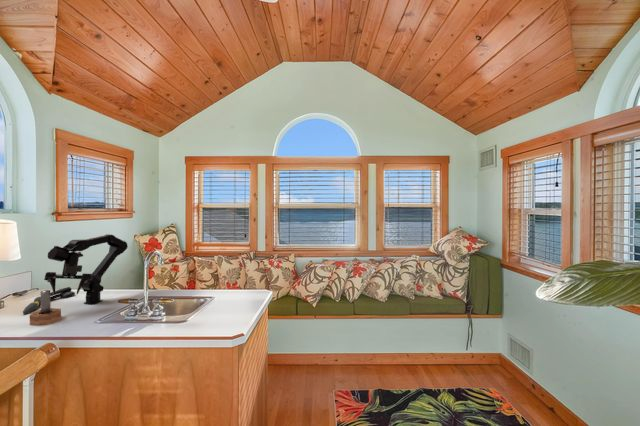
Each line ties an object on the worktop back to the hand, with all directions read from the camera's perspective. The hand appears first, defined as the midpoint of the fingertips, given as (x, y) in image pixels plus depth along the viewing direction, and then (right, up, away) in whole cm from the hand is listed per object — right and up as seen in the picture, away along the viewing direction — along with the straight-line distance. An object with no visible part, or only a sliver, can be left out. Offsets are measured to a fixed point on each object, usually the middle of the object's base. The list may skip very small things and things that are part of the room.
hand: (65, 294), depth 164 cm
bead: (-3, -10, -9) cm, 14 cm away
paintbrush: (-22, -10, +8) cm, 25 cm away
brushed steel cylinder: (-3, -10, -9) cm, 14 cm away
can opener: (-24, -9, +24) cm, 35 cm away
